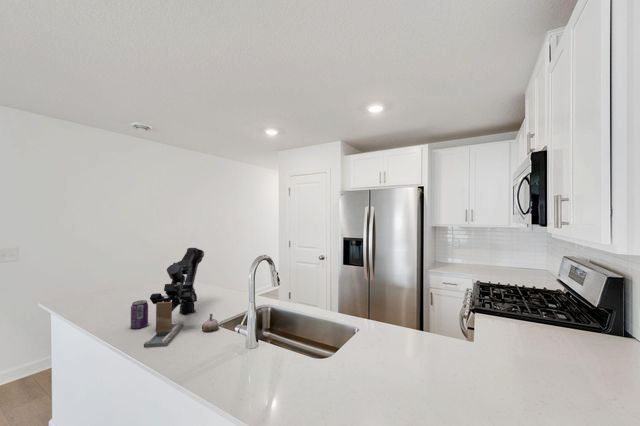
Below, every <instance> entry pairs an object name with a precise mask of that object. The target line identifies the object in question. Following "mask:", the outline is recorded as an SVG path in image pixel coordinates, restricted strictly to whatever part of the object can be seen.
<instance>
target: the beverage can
mask: <svg viewBox="0 0 640 426" xmlns="http://www.w3.org/2000/svg"><path fill="white" fill-rule="evenodd" d="M148 325H149V304H148V300H145V299H144V300H143V299H141V300H135V301H133V302H132V303H131V306H130V328H132V329H142V328H145V327H146V326H148Z"/></svg>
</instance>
